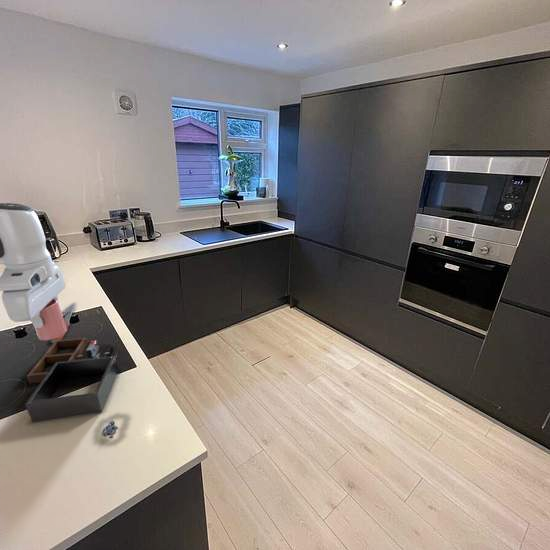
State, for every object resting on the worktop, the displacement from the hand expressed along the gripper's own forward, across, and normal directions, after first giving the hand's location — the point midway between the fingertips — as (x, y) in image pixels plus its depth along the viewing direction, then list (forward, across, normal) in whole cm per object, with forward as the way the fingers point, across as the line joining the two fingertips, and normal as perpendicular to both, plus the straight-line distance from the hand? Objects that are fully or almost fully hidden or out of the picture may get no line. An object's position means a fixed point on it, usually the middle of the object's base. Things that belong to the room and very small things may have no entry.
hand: (47, 318), depth 76 cm
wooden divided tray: (+21, -9, -5) cm, 24 cm away
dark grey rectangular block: (+18, -8, +5) cm, 21 cm away
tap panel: (+22, -8, +5) cm, 23 cm away
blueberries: (+22, +21, +18) cm, 35 cm away
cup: (+5, 0, 0) cm, 5 cm away
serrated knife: (+22, -36, -15) cm, 45 cm away
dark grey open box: (+22, +7, +6) cm, 23 cm away
